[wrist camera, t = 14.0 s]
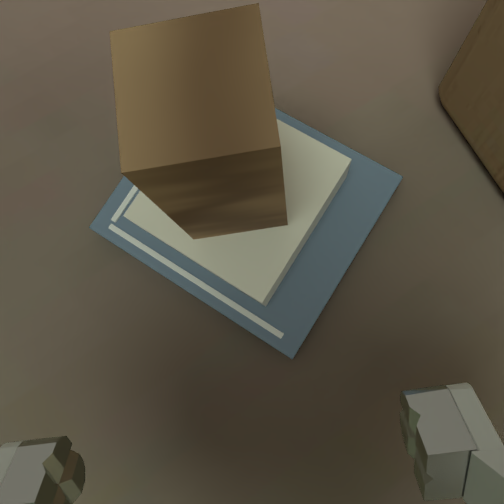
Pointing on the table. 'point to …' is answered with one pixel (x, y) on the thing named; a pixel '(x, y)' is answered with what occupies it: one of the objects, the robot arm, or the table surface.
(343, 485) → the table surface
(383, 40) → the table surface
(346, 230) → the board
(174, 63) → the walnut pillar
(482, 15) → the wooden block
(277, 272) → the foundation slab
